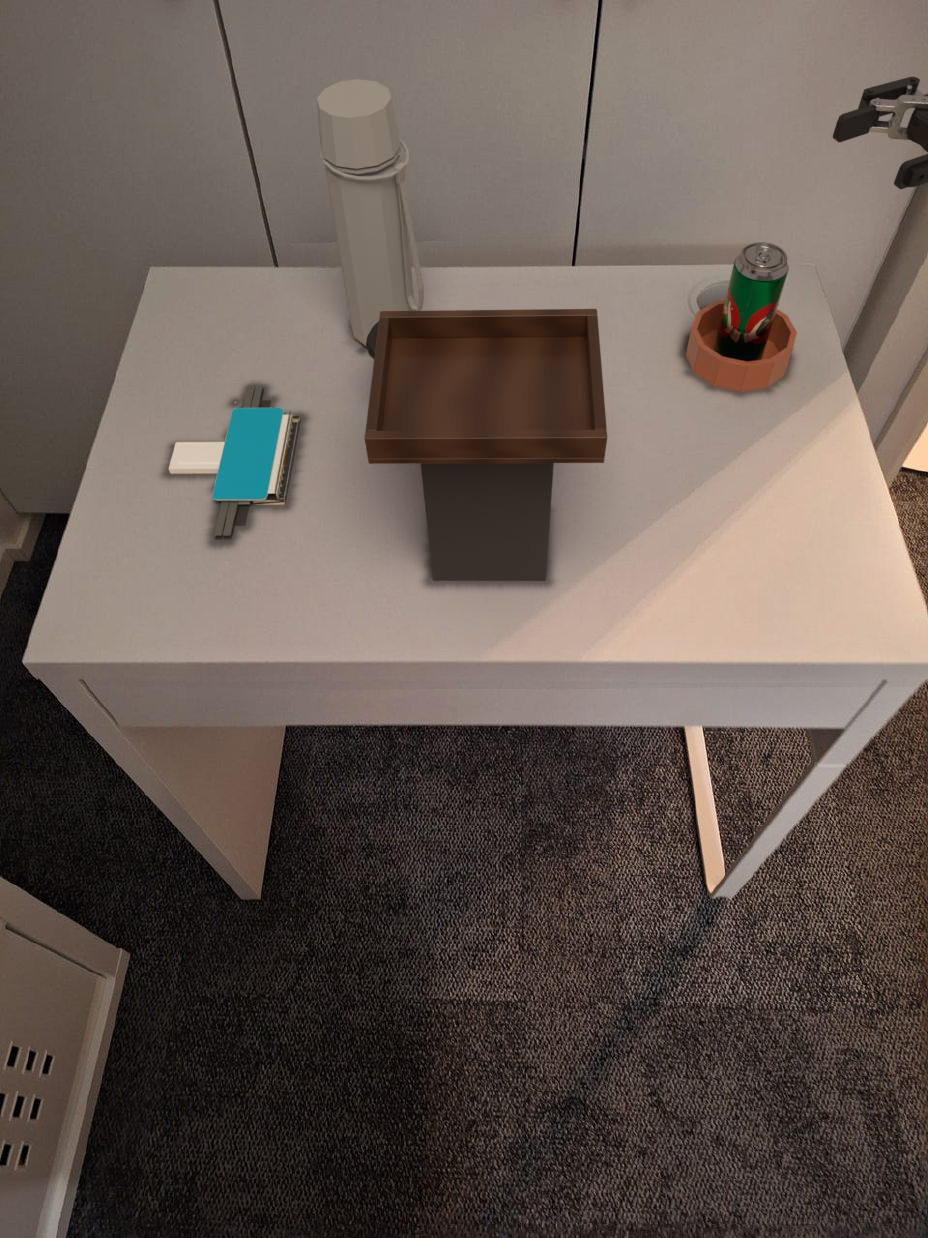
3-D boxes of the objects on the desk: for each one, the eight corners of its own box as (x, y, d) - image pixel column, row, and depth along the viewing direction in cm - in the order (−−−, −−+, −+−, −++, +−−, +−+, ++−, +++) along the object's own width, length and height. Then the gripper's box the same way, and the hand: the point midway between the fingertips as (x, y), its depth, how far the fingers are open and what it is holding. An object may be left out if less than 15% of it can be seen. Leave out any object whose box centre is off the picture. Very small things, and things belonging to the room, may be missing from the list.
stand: (544, 511, 85) (552, 359, 70) (545, 581, 81) (555, 434, 66) (437, 512, 86) (423, 360, 71) (433, 581, 81) (417, 435, 66)
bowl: (794, 336, 97) (803, 309, 94) (777, 400, 92) (786, 373, 89) (699, 317, 100) (705, 290, 97) (677, 378, 94) (682, 351, 92)
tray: (594, 334, 72) (597, 308, 70) (604, 463, 64) (607, 437, 62) (383, 336, 72) (379, 310, 70) (368, 463, 65) (364, 438, 63)
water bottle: (336, 341, 100) (292, 107, 79) (377, 301, 103) (346, 67, 82) (406, 370, 97) (380, 134, 76) (446, 327, 100) (432, 91, 79)
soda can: (766, 347, 96) (797, 246, 86) (754, 378, 94) (784, 277, 84) (720, 335, 98) (744, 234, 88) (706, 365, 95) (730, 264, 85)
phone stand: (193, 390, 96) (189, 378, 95) (306, 389, 95) (303, 377, 94) (152, 540, 85) (146, 528, 84) (279, 540, 84) (275, 528, 83)
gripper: (971, 29, 86) (829, 73, 82) (1090, 99, 78) (939, 150, 75) (939, 110, 92) (806, 154, 88) (1046, 182, 85) (905, 233, 81)
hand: (867, 152), depth 82 cm, fingers open, 8 cm apart
